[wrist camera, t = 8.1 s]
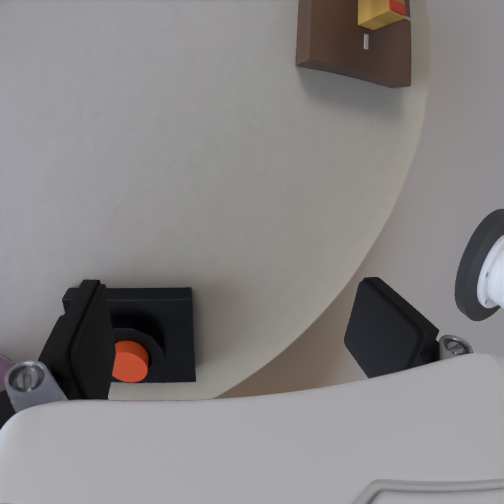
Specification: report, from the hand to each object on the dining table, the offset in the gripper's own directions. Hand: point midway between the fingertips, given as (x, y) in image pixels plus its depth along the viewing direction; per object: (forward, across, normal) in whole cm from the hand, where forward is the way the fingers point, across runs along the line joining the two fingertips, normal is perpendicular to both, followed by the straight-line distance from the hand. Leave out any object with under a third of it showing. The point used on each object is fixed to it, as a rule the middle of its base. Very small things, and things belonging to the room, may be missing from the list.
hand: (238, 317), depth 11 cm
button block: (+17, +7, +13) cm, 22 cm away
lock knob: (+13, -11, -20) cm, 26 cm away
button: (+13, +7, +13) cm, 19 cm away
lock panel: (+16, -11, -20) cm, 28 cm away
